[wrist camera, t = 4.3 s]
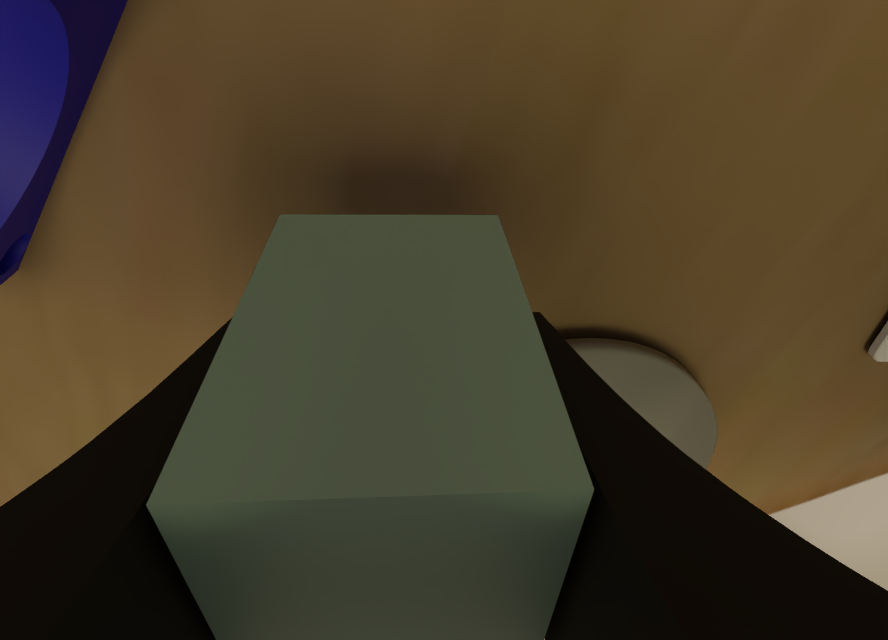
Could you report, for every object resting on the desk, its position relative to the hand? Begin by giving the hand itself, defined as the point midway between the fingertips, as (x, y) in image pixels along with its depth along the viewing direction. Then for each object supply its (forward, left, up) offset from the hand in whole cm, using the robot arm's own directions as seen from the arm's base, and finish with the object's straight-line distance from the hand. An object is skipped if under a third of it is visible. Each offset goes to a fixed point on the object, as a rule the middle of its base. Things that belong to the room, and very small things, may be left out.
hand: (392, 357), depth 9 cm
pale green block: (0, 0, -2) cm, 2 cm away
